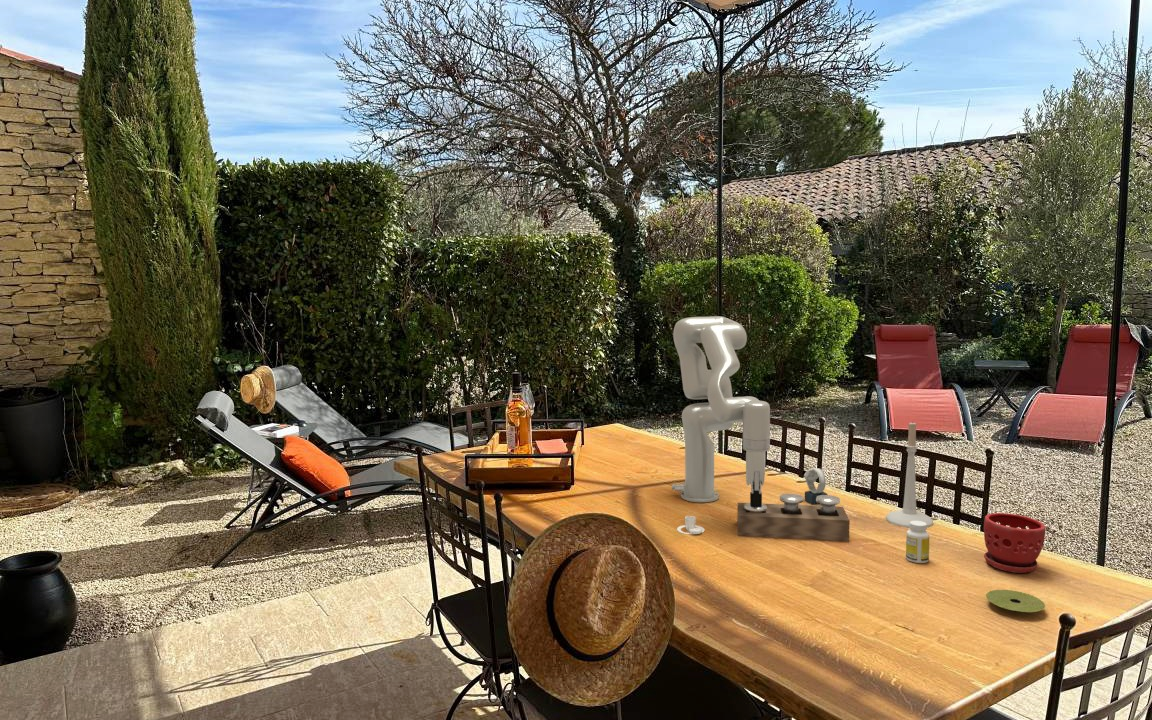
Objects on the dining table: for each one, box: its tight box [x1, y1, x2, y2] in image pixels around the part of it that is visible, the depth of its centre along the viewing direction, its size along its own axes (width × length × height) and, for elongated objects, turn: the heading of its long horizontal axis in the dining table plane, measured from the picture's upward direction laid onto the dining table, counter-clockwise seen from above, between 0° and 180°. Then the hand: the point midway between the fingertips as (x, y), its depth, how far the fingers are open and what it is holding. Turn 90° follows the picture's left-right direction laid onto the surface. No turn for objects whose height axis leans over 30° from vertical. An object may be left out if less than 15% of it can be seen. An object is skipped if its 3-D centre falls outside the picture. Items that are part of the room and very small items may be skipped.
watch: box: [803, 467, 828, 506], centre depth 240 cm, size 6×8×11 cm
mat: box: [985, 589, 1046, 613], centre depth 164 cm, size 11×11×2 cm
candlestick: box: [885, 421, 934, 529], centre depth 219 cm, size 13×13×30 cm
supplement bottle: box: [905, 521, 930, 564], centre depth 191 cm, size 5×5×10 cm
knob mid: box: [779, 493, 804, 514], centre depth 213 cm, size 6×6×5 cm
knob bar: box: [736, 502, 851, 542], centre depth 214 cm, size 30×12×6 cm, turn 79°
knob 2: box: [816, 494, 841, 516], centre depth 211 cm, size 6×6×5 cm
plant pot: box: [983, 512, 1046, 574], centre depth 186 cm, size 13×13×12 cm
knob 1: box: [744, 502, 767, 513], centre depth 216 cm, size 6×6×5 cm
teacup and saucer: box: [676, 515, 705, 535], centre depth 217 cm, size 9×8×4 cm
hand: (755, 506), depth 215 cm, fingers closed
